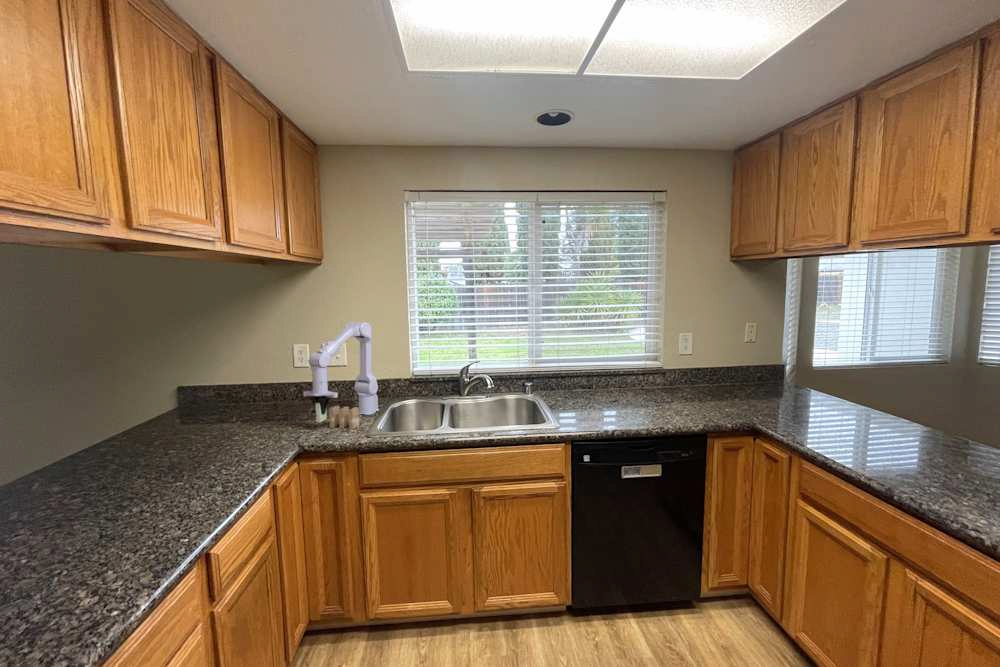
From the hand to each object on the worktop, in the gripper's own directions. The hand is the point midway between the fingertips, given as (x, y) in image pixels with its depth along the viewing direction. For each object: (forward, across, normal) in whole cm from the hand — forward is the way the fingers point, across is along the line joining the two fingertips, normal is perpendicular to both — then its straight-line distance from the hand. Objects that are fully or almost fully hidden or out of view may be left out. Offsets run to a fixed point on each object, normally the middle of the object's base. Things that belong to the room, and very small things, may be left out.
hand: (321, 413), depth 175 cm
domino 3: (+7, +8, +5) cm, 11 cm away
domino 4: (+7, +12, +5) cm, 15 cm away
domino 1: (+3, 0, 0) cm, 3 cm away
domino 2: (+7, +3, +5) cm, 9 cm away
